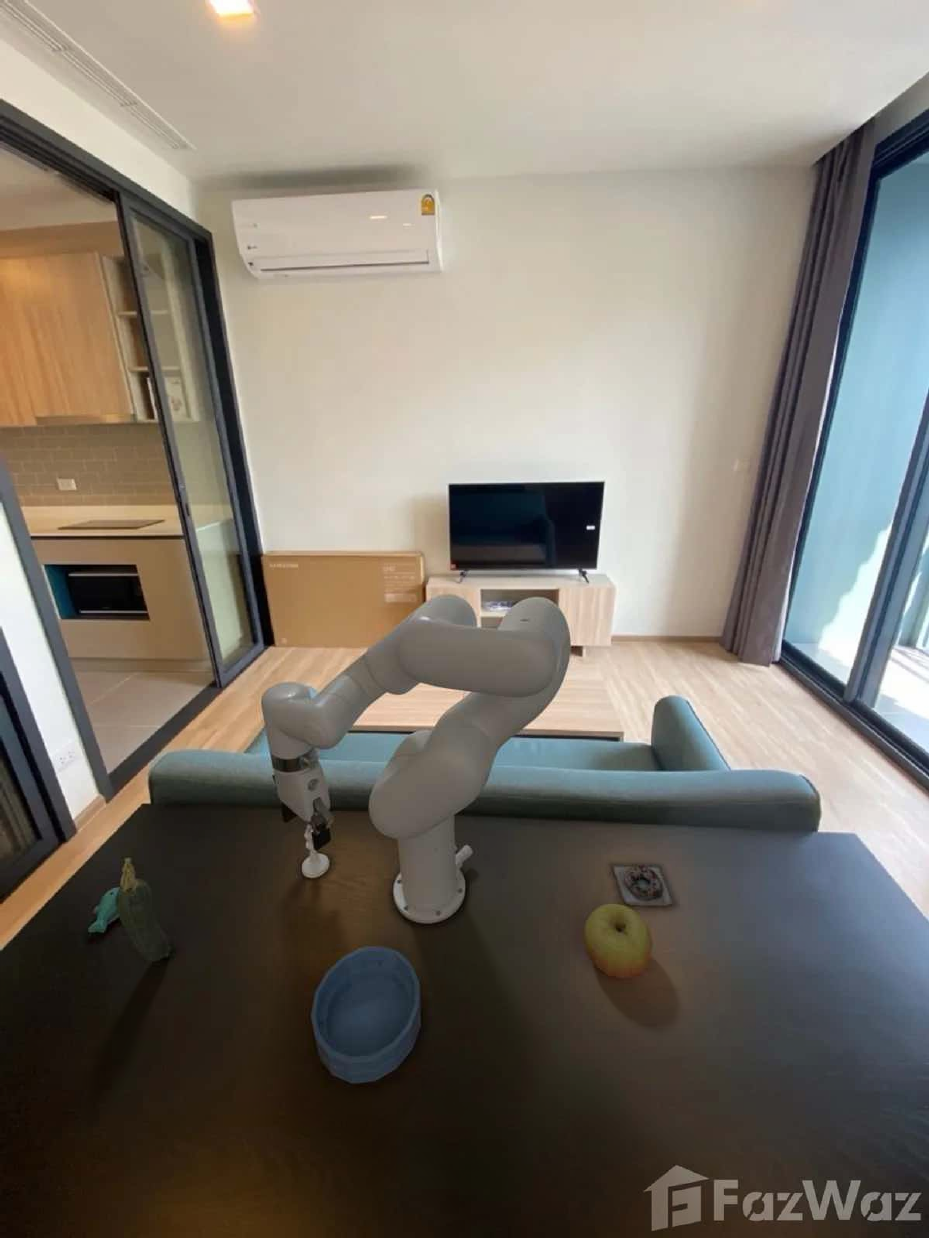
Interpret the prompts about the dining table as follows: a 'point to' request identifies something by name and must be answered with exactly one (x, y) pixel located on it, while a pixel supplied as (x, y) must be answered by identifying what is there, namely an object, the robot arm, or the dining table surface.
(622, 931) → the apple
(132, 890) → the vegetable
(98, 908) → the whale figurine
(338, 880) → the dining table surface
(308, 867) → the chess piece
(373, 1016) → the bowl
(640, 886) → the donut
